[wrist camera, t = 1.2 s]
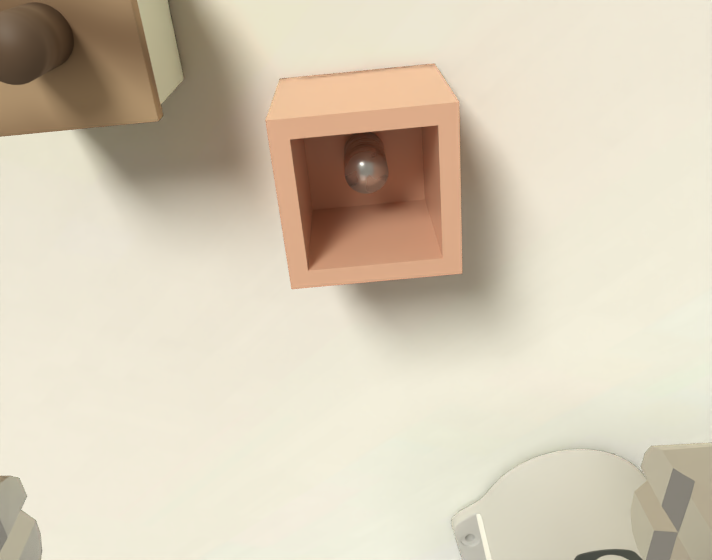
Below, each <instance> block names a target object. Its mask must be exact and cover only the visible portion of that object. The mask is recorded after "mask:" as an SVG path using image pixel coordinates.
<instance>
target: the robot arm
mask: <svg viewBox="0 0 712 560" xmlns="http://www.w3.org/2000/svg"><path fill="white" fill-rule="evenodd" d="M641 469H642V471H643V473H644V475H645V476H646V477H645V476H644V475H643V474H642V472H641V471H640V470H639V469H638V468H637V467H636V466H634V465H633V464H632V463H630V462H629V461H627V460H625V459H623V458H621V457H619V456H617V455H614V454H611V453H608V452H603V451H598V450H590V449H570V450H561V451H556V452H551V453H547V454H544V455H540V456H537V457H535V458H532V459H530V460H528V461H525V462H523V463H521V464H520V465H518V466H516V467H514V468H513V469H511V470H510V471H508V472H507V473H506V474H504V475H503V476H502V477H501V478H500V479H499V480H497V481H496V482H495V484H494V485H493V486H492V487H491V488H490V489H489V490H488V492H487V493H486V494H485V495H484V496H483V497H482V498H481V499H480V500H479V501H477V502H475V503H473V504H471V505H470V506H468V507H466V508H464V509H463V510H461V511H459V512H458V513H457V514H456V515H454V517H453V518H452V520H451V526H452V529H453V532H454V535H455V538H456V541H457V545H458V548H459V551H460V554H461V557H462V560H712V442H711V443H693V444H675V445H657V446H651V447H650V448H649V449H648V450H647V451H646V452H645V454H644V458H643V461H642V465H641ZM646 478H647V479H646ZM26 498H27V495H26V492H25V490H24V487H23V485H22V483H21V480H20V478H18V477H13V476H0V560H41V555H42V543H41V533H40V530H39V528H38V525H37V522H36V520H35V519H33V518H32V517H31V516H29V515H28V514H26V513H25V512H24V511H22V510H21V508H22V506H23V504H24V502H25V500H26Z"/></svg>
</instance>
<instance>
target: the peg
mask: <svg viewBox="0 0 712 560" xmlns="http://www.w3.org/2000/svg"><path fill="white" fill-rule="evenodd" d="M344 166H345V179H346V181H347V183H348V185H349V186H350V187H351V188H352V189H353V190H355V191H357V192H359V193H364V194H368V193H373V192H376V191H378V190H379V189H381V188H382V187H383V186H384V184H385V183H386V181H387V178H388V166H387V160H386V155H385V150H384V146H383V143H382V141H381V139H380V138H379V137H378V136H377V135H376V134H374V133H372V132H363V133H354V134H353V135H351V136H350V137H349V138H348V140H347V141H346V143H345V147H344Z"/></svg>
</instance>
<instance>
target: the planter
mask: <svg viewBox="0 0 712 560" xmlns="http://www.w3.org/2000/svg"><path fill="white" fill-rule="evenodd" d="M265 121H266V128H267V134H268V140H269V147H270V153H271V160H272V166H273V173H274V179H275V186H276V192H277V198H278V205H279V211H280V218H281V224H282V231H283V237H284V244H285V250H286V256H287V263H288V269H289V276H290V282H291V289H299V288H310V287H321V286H332V285H343V284H354V283H365V282H376V281H387V280H398V279H409V278H420V277H431V276H442V275H453V274H462V226H461V172H460V118H459V101H458V99H457V98H456V96H455V95H454V93H453V91H452V90H451V88H450V87H449V85H448V84H447V82H446V80H445V79H444V77H443V76H442V74H441V73H440V71H439V70H438V68H437V66H436V65H435V64H425V65H415V66H405V67H394V68H384V69H374V70H364V71H353V72H343V73H333V74H323V75H313V76H302V77H292V78H282V79H279V82H278V85H277V88H276V91H275V94H274V97H273V100H272V103H271V106H270V109H269V112H268V114H267V117H266V120H265ZM363 132H372V133H374V134H376V135H377V136H378V137H379V138H380V139H381V141H382V143H383V146H384V150H385V155H386V160H387V166H388V178H387V181H386V183H385V184H384V186H383V187H382V188H381V189H379V190H378V191H376V192H373V193H368V194H364V193H359V192H357V191H355V190H353V189H352V188H351V187H350V186H349V185H348V183H347V181H346V179H345V166H344V147H345V143H346V141H347V140H348V138H349V137H350V136H351V135H353V134H354V133H363Z"/></svg>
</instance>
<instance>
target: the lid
mask: <svg viewBox="0 0 712 560" xmlns="http://www.w3.org/2000/svg"><path fill="white" fill-rule="evenodd" d="M162 116H163V113H162V108H161V104H160V100H159V95H158V91H157V86H156V82H155V78H154V73H153V69H152V64H151V60H150V55H149V51H148V47H147V42H146V38H145V33H144V29H143V25H142V20H141V16H140V11H139V7H138V2H137V0H0V137H1V136H11V135H22V134H32V133H42V132H53V131H63V130H73V129H84V128H94V127H104V126H114V125H125V124H135V123H145V122H156V121H159V120H160V119H161V118H162Z"/></svg>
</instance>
